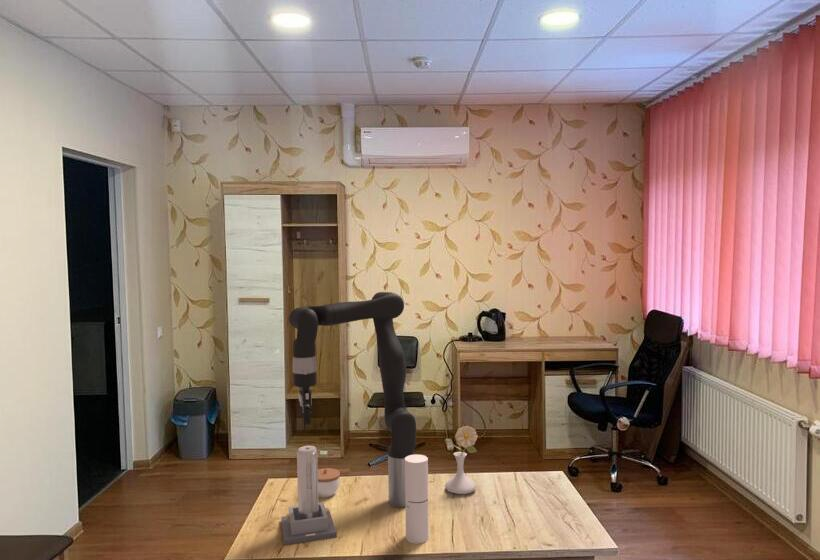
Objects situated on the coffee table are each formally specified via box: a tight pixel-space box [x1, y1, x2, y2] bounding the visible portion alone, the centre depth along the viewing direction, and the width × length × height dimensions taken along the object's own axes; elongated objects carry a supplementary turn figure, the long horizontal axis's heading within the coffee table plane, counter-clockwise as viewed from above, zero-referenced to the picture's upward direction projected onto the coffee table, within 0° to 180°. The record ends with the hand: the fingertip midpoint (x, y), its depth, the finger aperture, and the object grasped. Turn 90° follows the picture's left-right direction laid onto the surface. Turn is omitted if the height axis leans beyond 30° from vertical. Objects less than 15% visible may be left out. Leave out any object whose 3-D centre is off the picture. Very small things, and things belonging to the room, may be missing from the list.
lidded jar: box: [318, 467, 341, 499], centre depth 208 cm, size 11×11×9 cm
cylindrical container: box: [404, 454, 430, 544], centre depth 174 cm, size 7×7×25 cm
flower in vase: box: [444, 425, 479, 495], centre depth 209 cm, size 13×11×25 cm
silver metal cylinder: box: [296, 445, 319, 520], centre depth 181 cm, size 6×6×25 cm
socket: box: [280, 502, 337, 546], centre depth 181 cm, size 16×16×6 cm
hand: (305, 420), depth 180 cm, fingers open, 8 cm apart
